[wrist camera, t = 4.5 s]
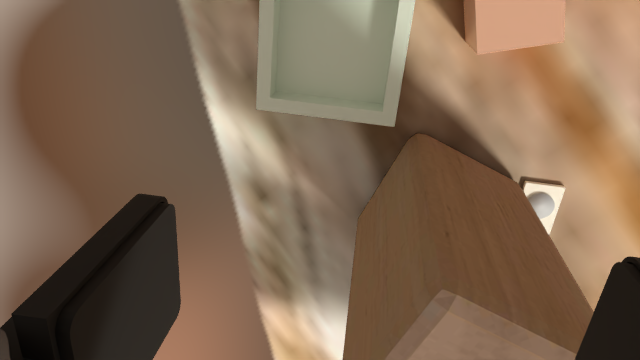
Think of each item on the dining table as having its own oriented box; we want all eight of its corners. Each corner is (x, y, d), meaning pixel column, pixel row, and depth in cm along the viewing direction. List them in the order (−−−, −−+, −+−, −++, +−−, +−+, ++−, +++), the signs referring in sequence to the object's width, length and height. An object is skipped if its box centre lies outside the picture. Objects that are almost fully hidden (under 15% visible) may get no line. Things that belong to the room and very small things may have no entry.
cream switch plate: (524, 180, 38) (526, 183, 37) (563, 185, 38) (566, 188, 37) (505, 244, 40) (506, 248, 40) (541, 249, 40) (543, 253, 40)
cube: (461, -35, 32) (473, -33, 28) (540, -49, 31) (566, -50, 27) (465, 41, 34) (477, 54, 30) (540, 30, 33) (564, 42, 29)
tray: (269, -43, 33) (260, -43, 31) (417, -28, 33) (419, -27, 30) (264, 99, 38) (256, 109, 35) (393, 116, 37) (394, 126, 35)
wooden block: (524, 182, 38) (649, 387, 20) (453, 272, 42) (503, 507, 24) (414, 124, 37) (440, 283, 19) (353, 221, 41) (327, 426, 23)
